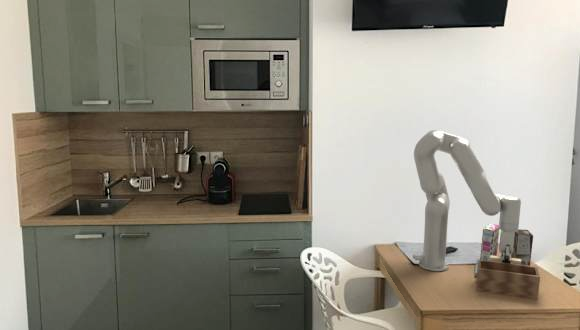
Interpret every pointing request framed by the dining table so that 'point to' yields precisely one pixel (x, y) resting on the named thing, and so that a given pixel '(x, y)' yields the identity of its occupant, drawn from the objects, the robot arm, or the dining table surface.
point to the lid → (499, 259)
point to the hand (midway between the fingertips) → (505, 266)
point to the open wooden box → (508, 279)
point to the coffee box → (522, 246)
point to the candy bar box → (489, 241)
